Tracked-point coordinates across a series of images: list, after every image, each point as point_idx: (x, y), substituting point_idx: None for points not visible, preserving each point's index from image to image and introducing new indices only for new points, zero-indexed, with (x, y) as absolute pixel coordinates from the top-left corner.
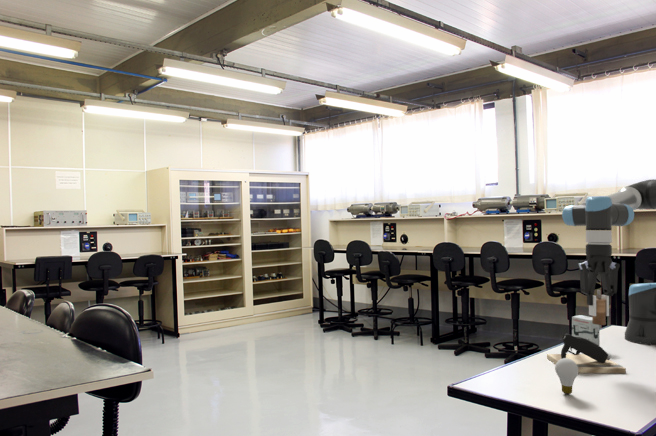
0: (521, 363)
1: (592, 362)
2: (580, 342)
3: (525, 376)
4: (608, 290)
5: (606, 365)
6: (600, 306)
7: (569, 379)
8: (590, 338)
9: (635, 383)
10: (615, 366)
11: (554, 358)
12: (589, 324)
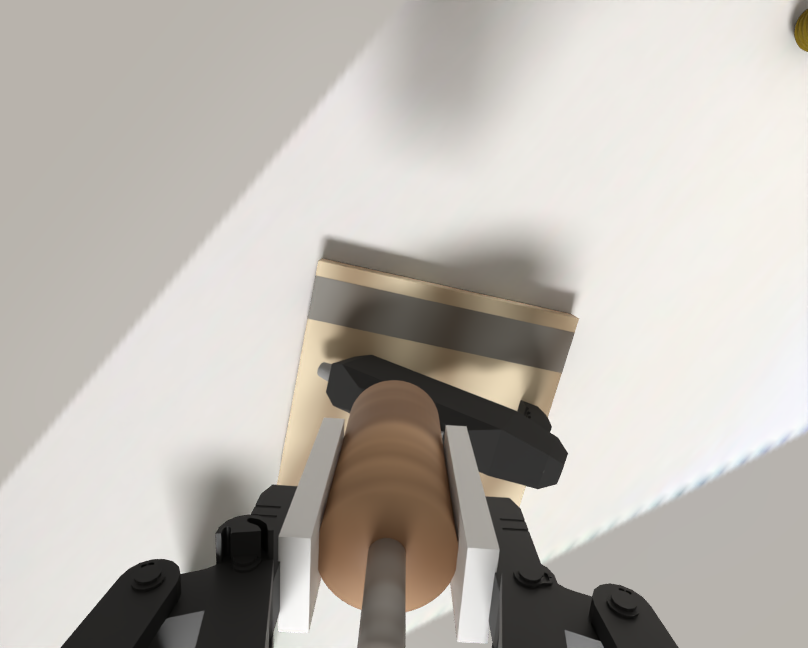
0: (667, 472)
1: None
2: (481, 415)
3: (786, 302)
4: (256, 602)
5: (375, 318)
6: (416, 455)
7: None
8: None
9: (392, 111)
10: (345, 296)
11: None
12: None
